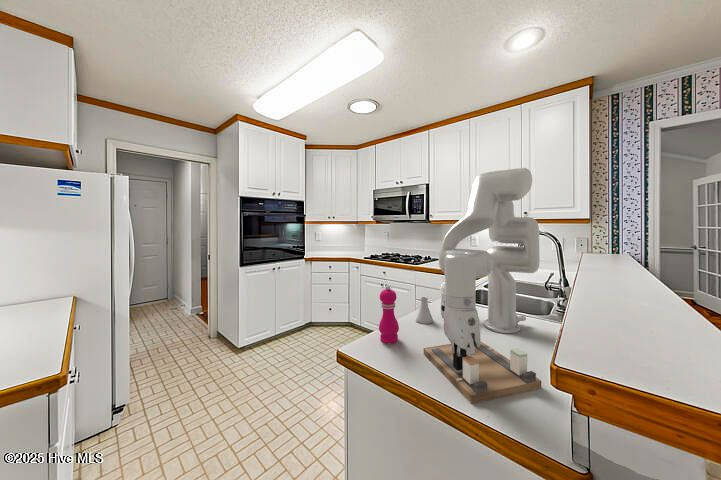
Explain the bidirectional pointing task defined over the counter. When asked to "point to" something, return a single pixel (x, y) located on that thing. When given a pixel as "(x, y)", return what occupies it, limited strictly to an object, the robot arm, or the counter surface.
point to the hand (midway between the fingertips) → (460, 368)
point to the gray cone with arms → (424, 312)
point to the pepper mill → (388, 317)
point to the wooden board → (483, 374)
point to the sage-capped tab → (518, 361)
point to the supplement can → (442, 298)
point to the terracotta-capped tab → (470, 369)
